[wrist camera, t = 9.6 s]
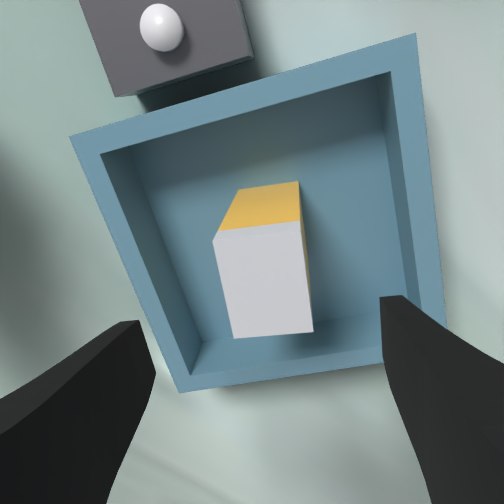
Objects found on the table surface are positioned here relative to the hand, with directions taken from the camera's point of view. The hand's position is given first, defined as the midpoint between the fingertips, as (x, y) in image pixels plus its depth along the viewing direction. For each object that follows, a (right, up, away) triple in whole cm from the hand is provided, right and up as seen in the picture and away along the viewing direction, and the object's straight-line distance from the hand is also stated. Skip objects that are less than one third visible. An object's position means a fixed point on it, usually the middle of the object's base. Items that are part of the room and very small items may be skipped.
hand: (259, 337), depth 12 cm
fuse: (+1, +4, +9) cm, 10 cm away
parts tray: (+1, +4, +10) cm, 10 cm away
